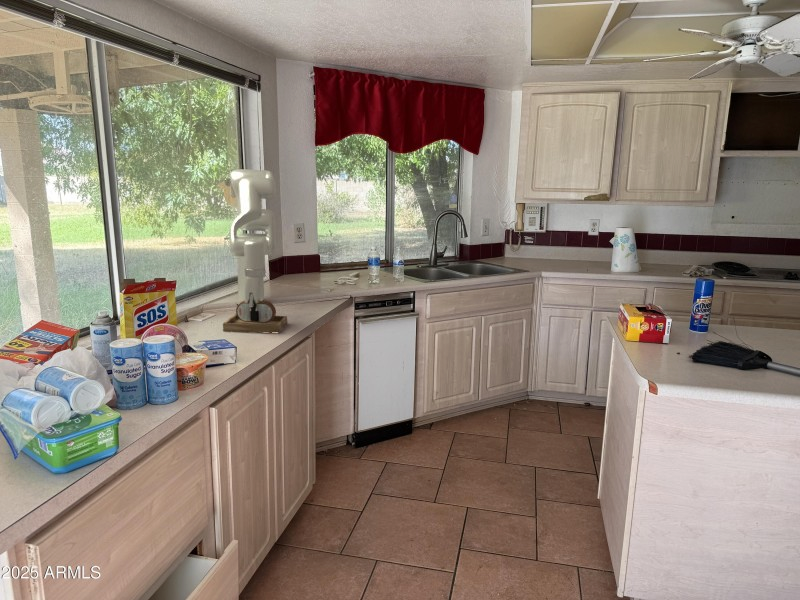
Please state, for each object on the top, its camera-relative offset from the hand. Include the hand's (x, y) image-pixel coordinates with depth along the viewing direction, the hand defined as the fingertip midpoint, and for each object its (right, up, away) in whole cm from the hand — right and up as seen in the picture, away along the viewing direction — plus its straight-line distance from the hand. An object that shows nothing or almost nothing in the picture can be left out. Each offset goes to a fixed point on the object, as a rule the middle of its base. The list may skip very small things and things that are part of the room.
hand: (256, 319), depth 208 cm
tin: (0, -1, 0) cm, 1 cm away
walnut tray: (0, -3, +1) cm, 3 cm away
